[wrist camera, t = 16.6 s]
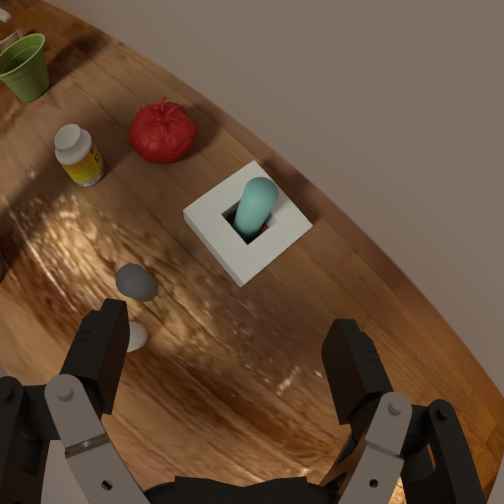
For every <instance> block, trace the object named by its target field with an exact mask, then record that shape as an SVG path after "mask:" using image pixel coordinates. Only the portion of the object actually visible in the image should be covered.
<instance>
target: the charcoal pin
mask: <svg viewBox="0 0 504 504" xmlns="http://www.w3.org/2000/svg"><path fill="white" fill-rule="evenodd" d="M116 286H117V288H118V290H119V291H120V292H121V293H122V294H123V295H125V296H128V297H131V298H133V299H136V300H139V301H142V302H147V301H150V300H152V299H153V298H154V297H155V296H156V294H157V290H158V286H157V283H156V281H155V279H154V278H153V277H151V276H150V275H149V274H148V273H147V272H146V271H145V270H144V269H143V268H142V267H141V266H139V265H137V264H126V265H124V266H123V267H121V268H120V269H119V271H118V272H117V275H116Z"/></svg>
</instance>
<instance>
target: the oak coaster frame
mask: <svg viewBox="0 0 504 504" xmlns="http://www.w3.org/2000/svg"><path fill="white" fill-rule="evenodd" d="M21 38H23V35H22V33H21V31H20V29H19V30H17V31H16V32H14V33H13V34H11V35H10V36H9V37H7V38H6V39H4V40H3V41H2V42H0V50H1V53H2V52H3V51H4V50H6V49H7V48H8V47H9V46H10V45H12V44H13V43H15V42H16V41H18V40H19V39H21ZM3 84H5V82H3V81H1V80H0V87H1V86H2V85H3Z"/></svg>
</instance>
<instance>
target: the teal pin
mask: <svg viewBox="0 0 504 504" xmlns="http://www.w3.org/2000/svg"><path fill="white" fill-rule="evenodd" d="M278 197H279V191H278V188H277V186H276V185H275V183H274V182H273V181H271V180H270V179H268V178H265V177H255V178H252V179H251V180H249V181H248V182H247V184H246V186H245V188H244V191H243V194H242V197H241V200H240V203H239V206H238V210H237V213H236V216H235V219H234V222H233V225H232V228H233V229H234V230H235V231H236V233H237V234H238V235H239V236H240V237H241V238H242V240H250V239H252V238H253V237H255V235H256V234H257V232H258V231H259V229H260V228H261V226H262V224H263V223H264V221H265V219H266V218H267V216H268V215H269V213H270V211H271V210H272V208H273V207H274V205H275V203H276V202H277V200H278Z"/></svg>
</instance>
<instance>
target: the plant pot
mask: <svg viewBox="0 0 504 504" xmlns="http://www.w3.org/2000/svg"><path fill="white" fill-rule="evenodd" d="M44 43H45V36H44V35H43V34H38V33H37V34H31V35H28V36H25V37H23V38H21V39H19V40H18V41H16V42H15V43H13V44H12V45H10V46H9V47H8V48H7V49H6V50H4V51H3V52H2V53H1V54H0V80H1V81H3V82H5V83H6V85H7V86H8V87H9V88H10V89H11V90H12V91H13V92H14V93H15V94H16V95H17V96H18V97H19V98H20V99H21V100H22V101H24V102H30V101H33V100H35V99H37V98H38V97H39V96H41V94H42V93H43V92H44V91H46V90H47V88H48V86H49V84H50V79H49V74H48V70H47V65H46V59H45V54H44V51H45V49H44Z"/></svg>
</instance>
